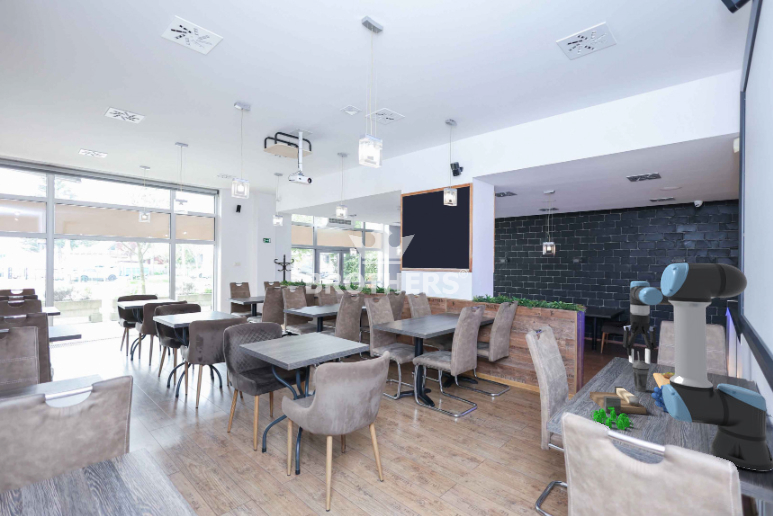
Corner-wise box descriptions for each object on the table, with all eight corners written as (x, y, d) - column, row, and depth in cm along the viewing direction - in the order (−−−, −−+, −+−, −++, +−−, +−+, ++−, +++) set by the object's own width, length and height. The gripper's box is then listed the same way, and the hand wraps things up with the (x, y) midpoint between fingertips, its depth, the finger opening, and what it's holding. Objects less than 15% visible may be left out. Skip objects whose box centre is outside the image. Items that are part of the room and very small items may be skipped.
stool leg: (640, 406, 163) (640, 399, 163) (631, 405, 163) (631, 398, 163) (622, 393, 178) (622, 386, 178) (614, 392, 179) (614, 386, 179)
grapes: (652, 413, 163) (652, 386, 163) (650, 407, 169) (651, 381, 169) (685, 419, 157) (686, 391, 157) (683, 413, 163) (683, 386, 163)
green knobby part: (594, 413, 163) (594, 397, 163) (635, 423, 154) (635, 406, 154) (586, 425, 152) (586, 408, 152) (630, 436, 142) (630, 418, 142)
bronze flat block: (647, 416, 160) (647, 399, 160) (606, 413, 162) (606, 398, 162) (624, 399, 179) (624, 384, 179) (587, 397, 181) (587, 383, 181)
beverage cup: (651, 393, 187) (652, 353, 187) (635, 392, 189) (635, 352, 189) (644, 388, 194) (645, 350, 194) (629, 387, 196) (629, 349, 196)
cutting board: (723, 403, 176) (723, 387, 176) (662, 394, 187) (662, 379, 187) (704, 382, 206) (704, 368, 206) (652, 375, 218) (652, 362, 218)
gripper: (657, 313, 177) (656, 361, 177) (613, 312, 179) (613, 359, 180) (667, 315, 170) (666, 365, 170) (621, 314, 172) (621, 364, 172)
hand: (639, 362), depth 175 cm, fingers open, 6 cm apart
